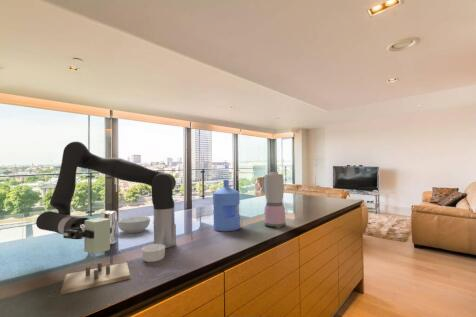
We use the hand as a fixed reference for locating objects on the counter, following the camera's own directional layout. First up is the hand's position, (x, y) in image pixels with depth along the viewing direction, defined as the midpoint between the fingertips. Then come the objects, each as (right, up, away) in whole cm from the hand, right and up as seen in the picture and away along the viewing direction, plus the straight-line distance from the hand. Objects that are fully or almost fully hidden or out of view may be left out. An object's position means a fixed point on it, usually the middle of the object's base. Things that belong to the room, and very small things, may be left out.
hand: (102, 232), depth 76 cm
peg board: (-2, -15, +1) cm, 15 cm away
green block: (-2, -6, +1) cm, 7 cm away
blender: (+65, -16, +65) cm, 93 cm away
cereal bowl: (-15, -18, +58) cm, 62 cm away
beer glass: (-18, -17, +37) cm, 45 cm away
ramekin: (+11, -16, +17) cm, 26 cm away
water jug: (+38, -17, +60) cm, 73 cm away
